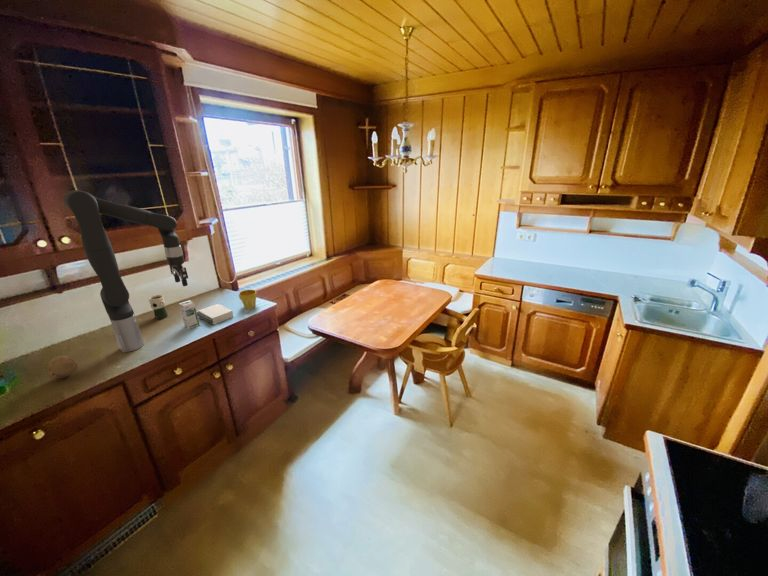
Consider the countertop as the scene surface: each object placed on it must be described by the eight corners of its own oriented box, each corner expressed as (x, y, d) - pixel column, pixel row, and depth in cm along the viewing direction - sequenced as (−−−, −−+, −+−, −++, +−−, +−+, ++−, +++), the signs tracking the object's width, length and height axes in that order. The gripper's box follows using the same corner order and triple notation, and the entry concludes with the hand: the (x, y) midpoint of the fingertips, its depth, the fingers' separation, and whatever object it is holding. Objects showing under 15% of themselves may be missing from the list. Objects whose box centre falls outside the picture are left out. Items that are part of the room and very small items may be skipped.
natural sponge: (86, 369, 140) (78, 350, 137) (71, 382, 132) (62, 362, 128) (63, 370, 139) (55, 351, 135) (46, 384, 131) (37, 364, 127)
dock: (211, 325, 179) (210, 319, 177) (197, 317, 187) (196, 311, 186) (233, 316, 188) (232, 310, 187) (219, 309, 197) (218, 303, 196)
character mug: (149, 317, 186) (143, 297, 181) (161, 312, 192) (155, 293, 187) (162, 321, 182) (156, 301, 177) (173, 316, 188) (168, 296, 183)
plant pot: (248, 311, 195) (245, 297, 191) (237, 307, 200) (235, 293, 196) (261, 305, 203) (259, 291, 199) (251, 301, 208) (249, 288, 204)
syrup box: (189, 329, 174) (183, 305, 168) (184, 326, 177) (178, 302, 172) (199, 325, 178) (194, 302, 173) (195, 322, 182) (189, 299, 176)
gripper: (160, 253, 163) (168, 282, 169) (172, 258, 155) (180, 289, 161) (176, 250, 168) (183, 279, 175) (188, 255, 161) (195, 284, 167)
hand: (181, 283), depth 168 cm, fingers open, 8 cm apart
